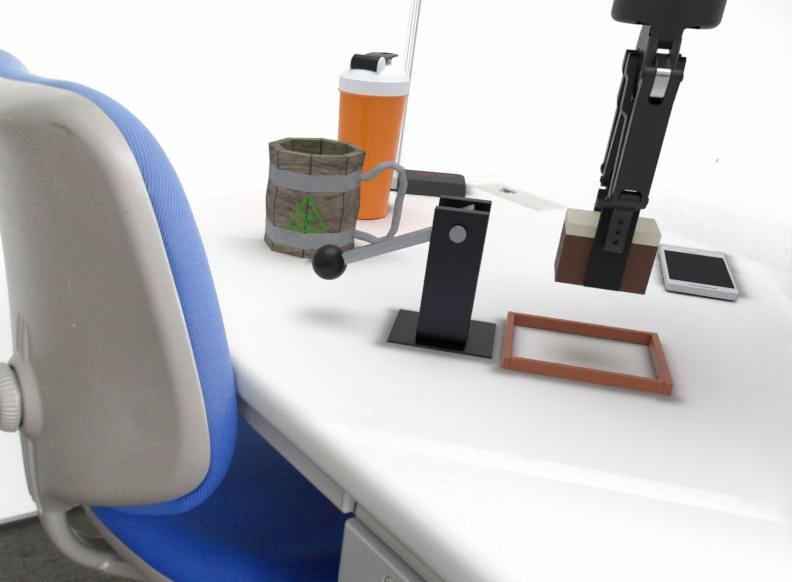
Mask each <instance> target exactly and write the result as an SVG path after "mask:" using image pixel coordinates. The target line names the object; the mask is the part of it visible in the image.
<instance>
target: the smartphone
mask: <svg viewBox="0 0 792 582" xmlns="http://www.w3.org/2000/svg"><path fill="white" fill-rule="evenodd" d="M658 253H659V254H658V255H659V259H660V264H661V270H662V276H663V283H664V288H665V289H666V291H671V292H678V293H683V294H690V295H697V296H703V297H709V298H715V299H723V300H729V301H737V299H738V296H739V290H738V287H737V284H736V282H735V280H734V277H733V275H732V271H731V270H730V267H729V265H728V263H727V262H728V261H727V260H726V257H725V254H722V253H718V252H713V251H705V250H697V249H691V248H683V247H677V246H668V245H660V248H659V251H658Z"/></svg>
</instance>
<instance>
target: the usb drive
mask: <svg viewBox="0 0 792 582" xmlns="http://www.w3.org/2000/svg"><path fill="white" fill-rule="evenodd" d="M405 173H406V178H407V183H408V185H407V189H406V193H405V194H410V195H418V196H419V195H420V196H428V197H429V196H431V197H440V196H441V195H448V196H457V197H465V198H466V193H467V183H466V178H465V177H466V176H464V175H463V174H460V173H450V172H438V171H429V170H428V171H427V170H417V169H408V168H407V169H406V168H405ZM399 186H400V182H399V172H397V171H394V172H393V178H392V184H391V190H395V191H396V193H398V189H399Z"/></svg>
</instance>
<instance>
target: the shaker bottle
mask: <svg viewBox="0 0 792 582" xmlns="http://www.w3.org/2000/svg"><path fill="white" fill-rule="evenodd" d="M397 57H399V54H398V53H393V52H386V51H372V52H368V53H365V54H363V53H353V54H352V55H351V56H350V59H349V65H348V66H346V67H345V68H344V69H343V70H342V71H341V73H340V74H339V79H338V80H339V81H338V87H337V90H338V92H339V100H338V101H339V103H338V104H339V105H338V125H337V141H343V142H349V143H354V144H356V145H358V146H359V147H361V148H362V149H364V150H365V151H366V155H365V159H364V164H363V168H362V173H368V172H369V171H371V170H372V169H373V168H374V167H376V166H377V165H378V164H380V163H384V162H388V161H393V162H395V163H396V160H397V154H398V149H399V142H400V136H401V132H402V131H401V130H402V123H403V119H404V112H405V107H406V101H407V97H408V96H409V91H410V83H411V79H410V77H409V75H408V73H407V72H406V71H405V70H404V69H403V68H401V67H399V66H397V65H395V64H392V63H393V62H392V61H393V59H394V58H397ZM393 172H395V170H393V169H392V168H389V169H387V170H384V171H382V172H381V173H380V174H379V175H377V176H376V177H375V178H374V179H372V180H370V181H361V185H360V208H359V213H358V218H357V220H377V219H381V218H384V217H385V216H386V215H387V212H388V207H389V201H390V195H391V190H392V189H391V184H392V178H393Z"/></svg>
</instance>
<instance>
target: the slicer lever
mask: <svg viewBox="0 0 792 582" xmlns="http://www.w3.org/2000/svg"><path fill="white" fill-rule="evenodd" d="M460 209H468V210H476V208H475V205H474V204H473V205H469V206H466V207H463V208H460ZM431 230H432V225H431V226H426V227H424V228H421V229H417V230H413V231H410V232H406V233H403V234H400V235H397V236H396V235H395V236H394V237H392V238H389V239H385V240H382V241H378V242H375V243H368V244H365V245H361V246H357V247H354V249H350V250H347V251H343V250H342V249H341V248H340V247H338V246H336V245H332V244H328V245H324V246H321V247H320V248H319V249H317V250H316V252H315V253H314V255H313V258H311V266H312V270H313V272H314V273H315V275H316V276H317V277H319V278H320V279H322V280H325V281H333V280H337V279H338V278H340V277H342V276H343V275H344V273H345V272H346V270H347V267H348V265H350V264H353V263H356V262H360V261H363V260H367V259H371V258H374V257H378V256H381V255H386V254H388V253H393V252H396V251H399V250H403V249H408V248H410V247H415V246H418V245H421V244H424V243H430V237H431Z"/></svg>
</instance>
